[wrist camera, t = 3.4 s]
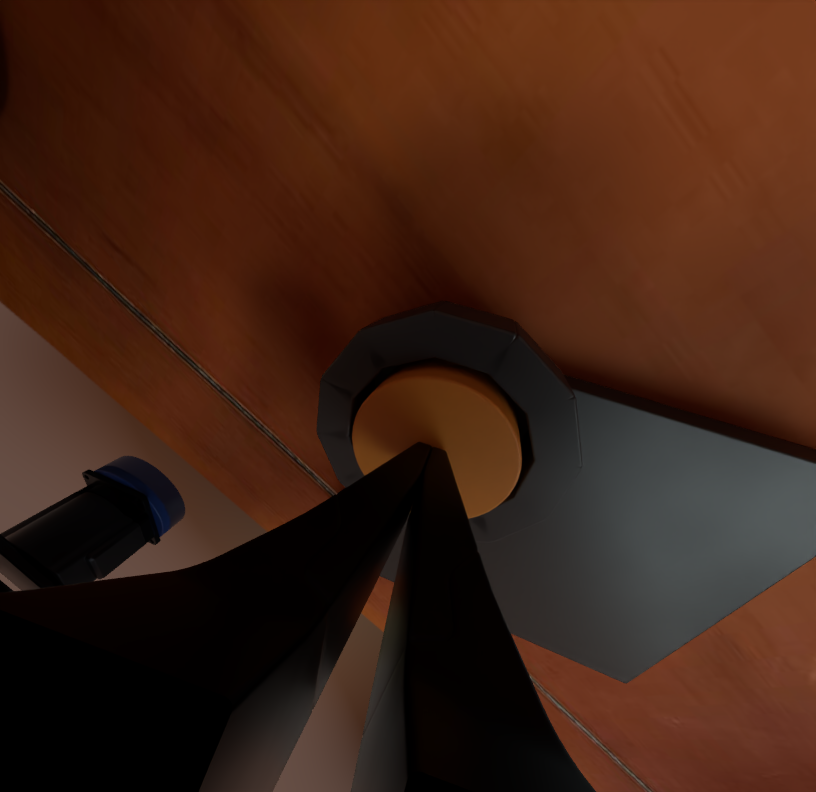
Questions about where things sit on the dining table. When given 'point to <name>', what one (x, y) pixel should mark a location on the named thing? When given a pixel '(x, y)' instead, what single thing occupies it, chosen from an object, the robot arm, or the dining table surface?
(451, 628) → the robot arm
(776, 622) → the dining table surface
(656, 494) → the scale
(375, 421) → the button
